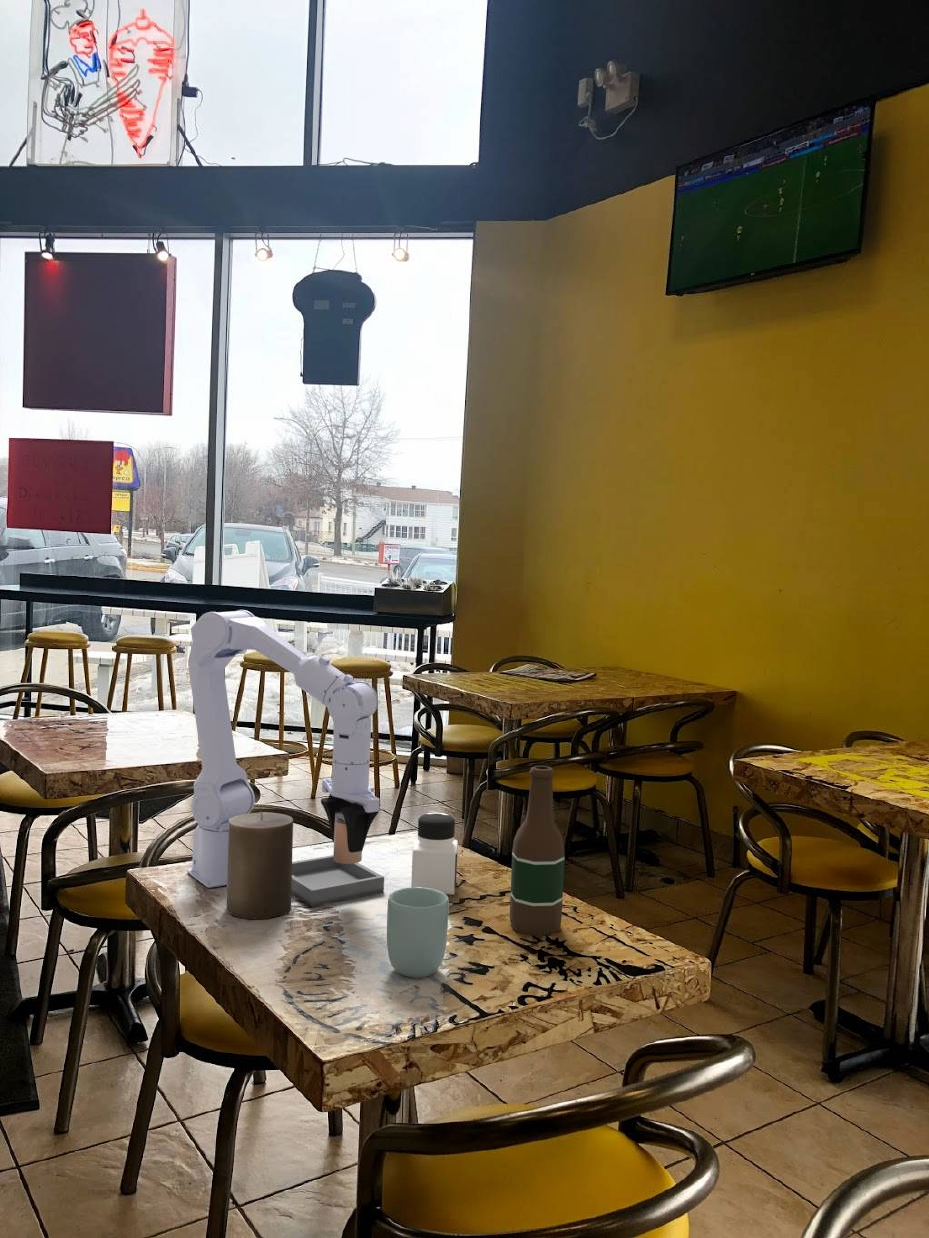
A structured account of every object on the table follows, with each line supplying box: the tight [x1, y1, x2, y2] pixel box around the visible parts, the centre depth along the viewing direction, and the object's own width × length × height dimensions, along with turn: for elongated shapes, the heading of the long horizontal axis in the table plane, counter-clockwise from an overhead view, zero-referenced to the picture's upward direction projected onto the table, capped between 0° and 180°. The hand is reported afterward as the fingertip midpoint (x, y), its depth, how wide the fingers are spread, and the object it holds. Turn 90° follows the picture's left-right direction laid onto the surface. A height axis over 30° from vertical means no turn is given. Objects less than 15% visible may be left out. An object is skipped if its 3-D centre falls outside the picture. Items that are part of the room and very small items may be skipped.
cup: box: [386, 886, 450, 979], centre depth 130 cm, size 8×8×10 cm
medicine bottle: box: [410, 812, 459, 896], centre depth 163 cm, size 7×7×12 cm
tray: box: [291, 855, 385, 907], centre depth 162 cm, size 14×13×2 cm
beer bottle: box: [509, 765, 566, 937], centre depth 147 cm, size 8×8×24 cm
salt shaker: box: [333, 809, 363, 864], centre depth 155 cm, size 4×4×8 cm
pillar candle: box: [226, 811, 294, 920], centre depth 151 cm, size 10×10×15 cm
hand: (347, 847), depth 155 cm, fingers closed on salt shaker, 4 cm apart
